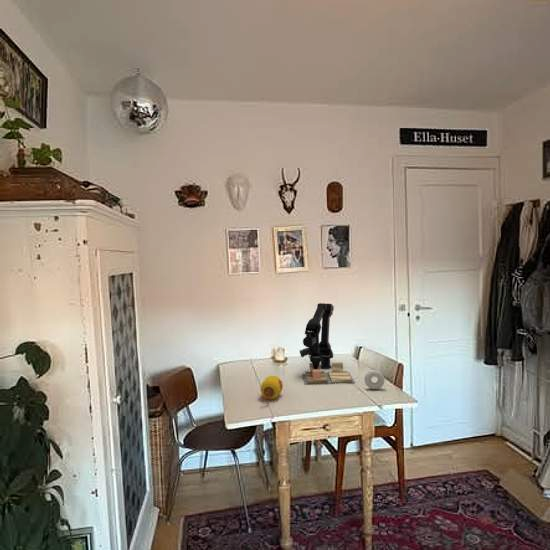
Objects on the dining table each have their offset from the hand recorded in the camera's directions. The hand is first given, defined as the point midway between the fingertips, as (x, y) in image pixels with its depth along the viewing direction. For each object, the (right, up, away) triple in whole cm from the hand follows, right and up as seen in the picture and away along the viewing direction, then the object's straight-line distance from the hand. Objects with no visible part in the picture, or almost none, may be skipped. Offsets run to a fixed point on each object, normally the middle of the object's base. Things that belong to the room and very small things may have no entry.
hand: (314, 370), depth 238 cm
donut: (+28, -3, -28) cm, 39 cm away
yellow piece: (-24, -6, -34) cm, 42 cm away
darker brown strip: (0, -3, -7) cm, 8 cm away
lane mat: (+7, -3, -6) cm, 10 cm away
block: (0, -1, -10) cm, 11 cm away
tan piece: (+13, -3, -8) cm, 15 cm away
